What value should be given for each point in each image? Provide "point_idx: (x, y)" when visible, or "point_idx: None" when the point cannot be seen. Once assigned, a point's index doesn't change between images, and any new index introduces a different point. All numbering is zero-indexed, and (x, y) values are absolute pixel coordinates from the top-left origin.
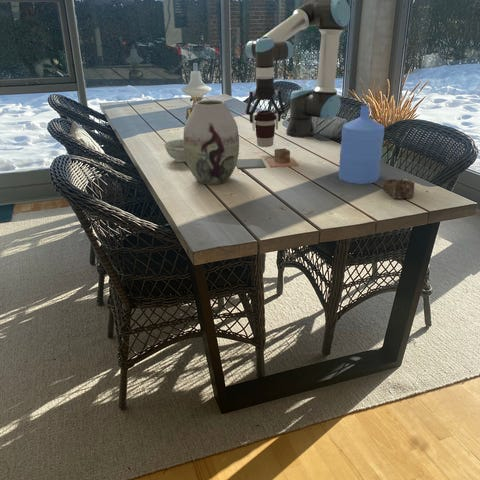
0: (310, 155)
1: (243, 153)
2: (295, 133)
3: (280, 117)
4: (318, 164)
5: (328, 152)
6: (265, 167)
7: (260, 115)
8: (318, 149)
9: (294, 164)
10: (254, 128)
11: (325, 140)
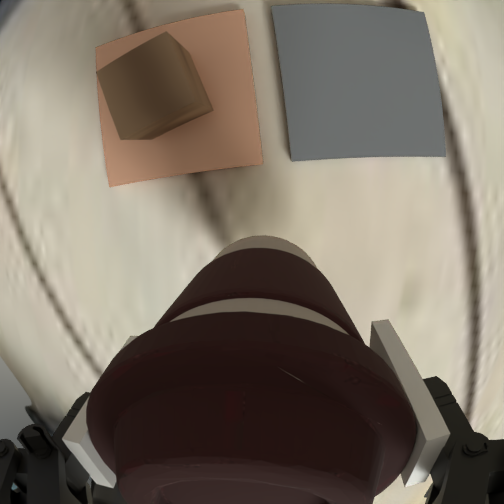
0: (49, 252)
1: (382, 306)
2: None
3: (63, 419)
4: (25, 108)
5: (7, 290)
6: (272, 8)
7: (342, 438)
8: (41, 335)
9: (111, 52)
10: (379, 334)
11: (54, 421)
